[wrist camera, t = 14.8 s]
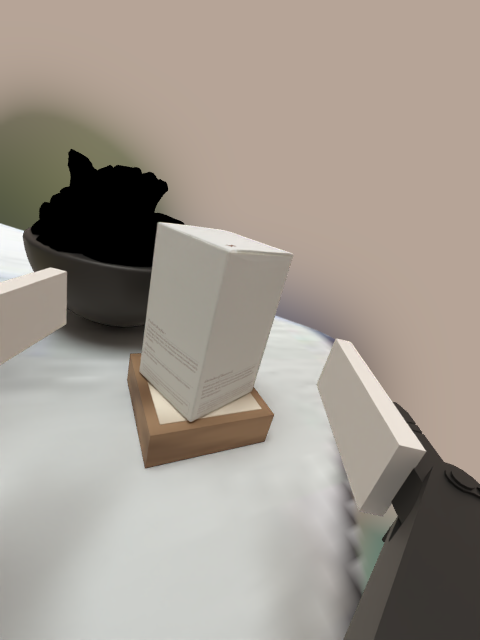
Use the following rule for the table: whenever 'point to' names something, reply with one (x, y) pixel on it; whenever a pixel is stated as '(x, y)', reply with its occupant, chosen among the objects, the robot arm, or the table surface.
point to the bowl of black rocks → (101, 240)
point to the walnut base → (192, 423)
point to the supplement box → (209, 315)
